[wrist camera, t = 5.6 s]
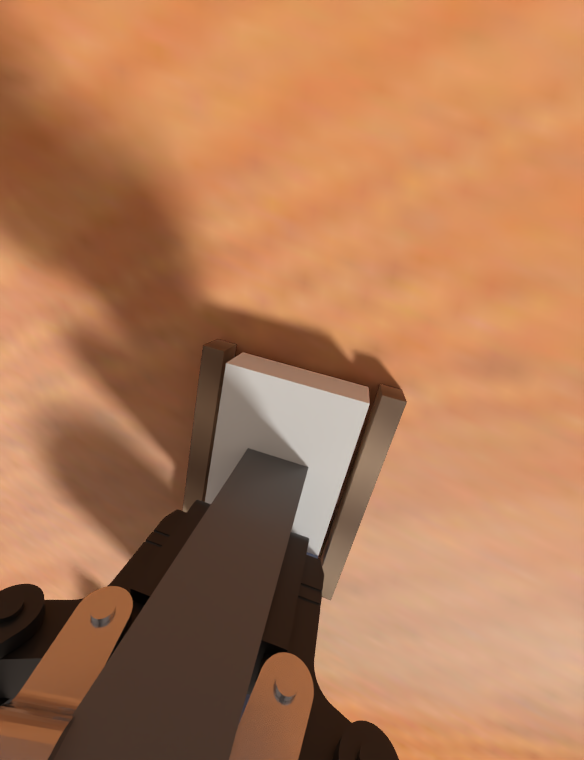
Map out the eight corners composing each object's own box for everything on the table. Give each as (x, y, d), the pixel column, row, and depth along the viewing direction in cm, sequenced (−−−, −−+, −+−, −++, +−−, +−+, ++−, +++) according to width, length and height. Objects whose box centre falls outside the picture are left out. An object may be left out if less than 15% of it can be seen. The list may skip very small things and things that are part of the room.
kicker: (243, 352, 15) (-114, 580, 4) (368, 387, 14) (398, 800, 3) (215, 515, 18) (-14, 889, 7) (314, 549, 18) (235, 1025, 6)
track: (217, 339, 15) (202, 345, 14) (402, 389, 14) (406, 402, 13) (191, 525, 19) (178, 544, 18) (332, 575, 18) (330, 600, 17)
